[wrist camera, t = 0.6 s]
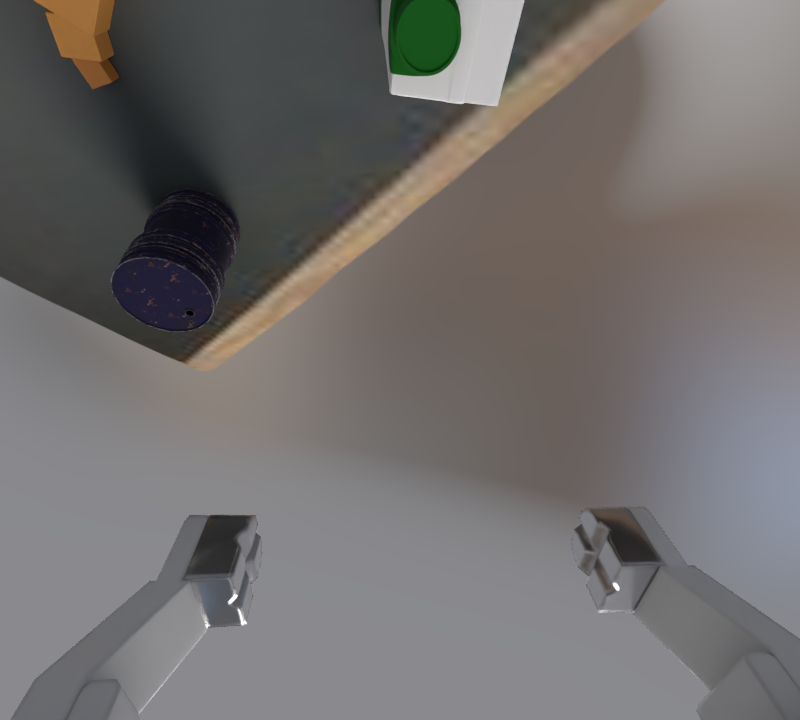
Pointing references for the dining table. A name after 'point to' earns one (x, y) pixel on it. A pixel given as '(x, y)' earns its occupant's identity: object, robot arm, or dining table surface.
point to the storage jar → (178, 262)
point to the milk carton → (449, 47)
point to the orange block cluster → (84, 36)
